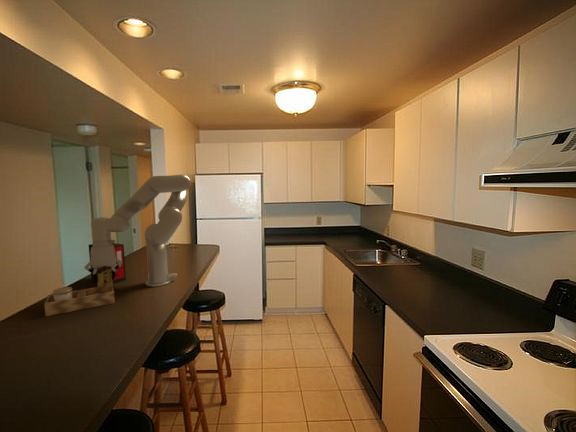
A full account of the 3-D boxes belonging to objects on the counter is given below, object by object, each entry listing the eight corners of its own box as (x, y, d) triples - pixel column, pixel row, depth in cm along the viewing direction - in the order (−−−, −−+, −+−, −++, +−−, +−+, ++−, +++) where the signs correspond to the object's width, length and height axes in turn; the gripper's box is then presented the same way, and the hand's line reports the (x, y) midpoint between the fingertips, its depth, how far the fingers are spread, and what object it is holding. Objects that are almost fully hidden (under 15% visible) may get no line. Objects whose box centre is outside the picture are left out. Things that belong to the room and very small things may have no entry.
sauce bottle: (106, 296, 139) (102, 254, 137) (94, 295, 140) (91, 254, 138) (116, 291, 145) (113, 251, 143) (105, 290, 147) (102, 251, 144)
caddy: (113, 296, 138) (112, 284, 138) (114, 304, 129) (114, 291, 129) (49, 308, 126) (47, 295, 125) (45, 318, 116) (44, 304, 116)
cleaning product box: (125, 280, 162) (123, 244, 160) (109, 285, 154) (107, 247, 152) (107, 276, 170) (105, 241, 168) (91, 280, 162) (88, 244, 160)
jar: (74, 303, 128) (72, 285, 127) (73, 308, 123) (71, 290, 122) (55, 307, 125) (53, 288, 124) (53, 312, 120) (52, 293, 119)
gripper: (122, 240, 148) (124, 275, 150) (80, 244, 139) (83, 281, 140) (123, 242, 142) (126, 279, 144) (79, 247, 132) (83, 286, 134)
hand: (105, 280), depth 142 cm, fingers closed on sauce bottle, 6 cm apart
